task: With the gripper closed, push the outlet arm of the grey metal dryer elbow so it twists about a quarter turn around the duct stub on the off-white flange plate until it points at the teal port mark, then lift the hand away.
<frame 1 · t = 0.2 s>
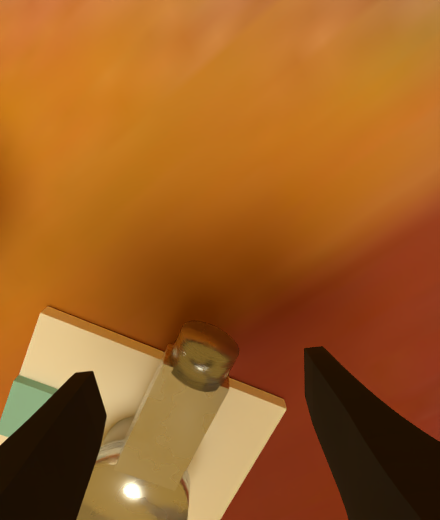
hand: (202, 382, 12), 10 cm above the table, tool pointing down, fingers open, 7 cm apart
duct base: (147, 438, 25), on the table
elbow: (157, 446, 20), point 5 cm above the table, hinge at 0.0°
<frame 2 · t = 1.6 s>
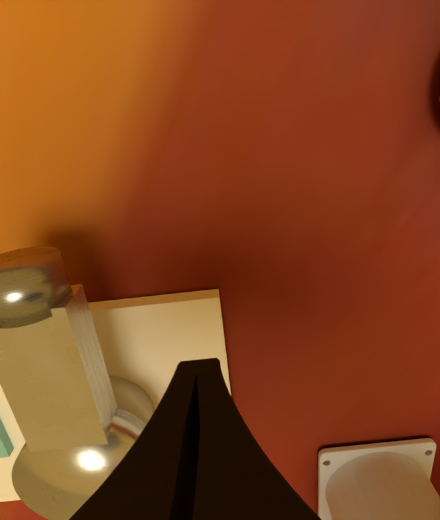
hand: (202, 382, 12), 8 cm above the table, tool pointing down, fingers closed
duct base: (112, 399, 22), on the table
elbow: (68, 407, 16), point 5 cm above the table, hinge at 0.0°
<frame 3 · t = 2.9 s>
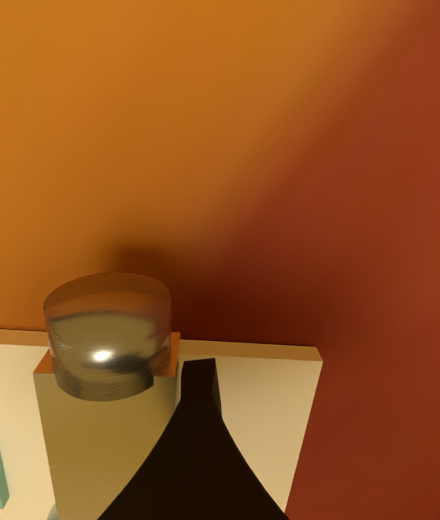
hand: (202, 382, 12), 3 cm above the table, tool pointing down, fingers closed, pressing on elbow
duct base: (145, 451, 18), on the table
elbow: (122, 487, 12), point 5 cm above the table, hinge at 1.7°, touching gripper
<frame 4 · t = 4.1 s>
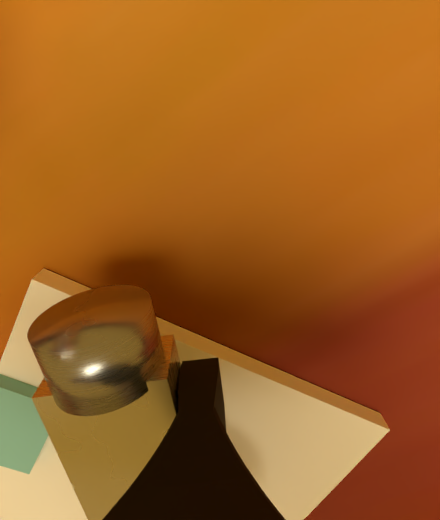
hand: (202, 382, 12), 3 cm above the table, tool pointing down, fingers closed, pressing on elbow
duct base: (181, 456, 18), on the table
elbow: (152, 494, 12), point 5 cm above the table, hinge at 37.0°, touching gripper
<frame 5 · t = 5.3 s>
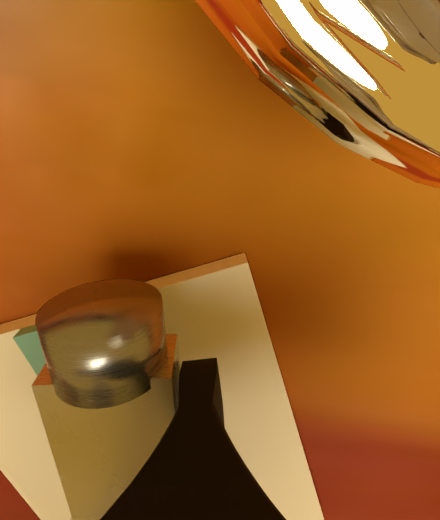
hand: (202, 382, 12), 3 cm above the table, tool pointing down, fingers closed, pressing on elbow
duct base: (162, 454, 18), on the table
elbow: (136, 491, 12), point 5 cm above the table, hinge at 75.0°, touching gripper
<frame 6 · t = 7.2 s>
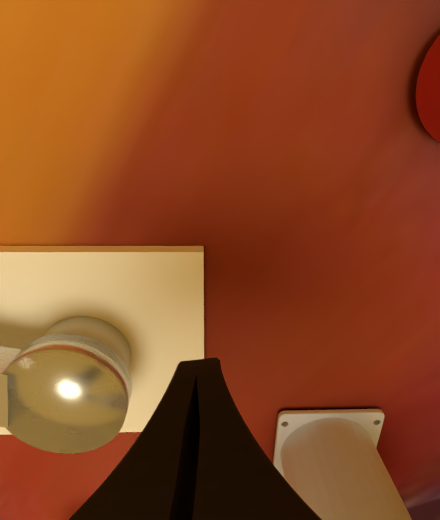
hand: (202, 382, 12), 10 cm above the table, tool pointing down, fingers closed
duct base: (91, 343, 24), on the table
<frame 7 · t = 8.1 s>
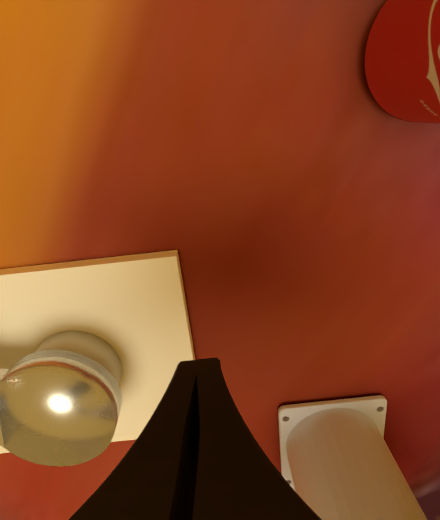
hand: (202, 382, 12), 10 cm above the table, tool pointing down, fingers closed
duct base: (83, 356, 24), on the table
beverage can: (416, 54, 18), on the table
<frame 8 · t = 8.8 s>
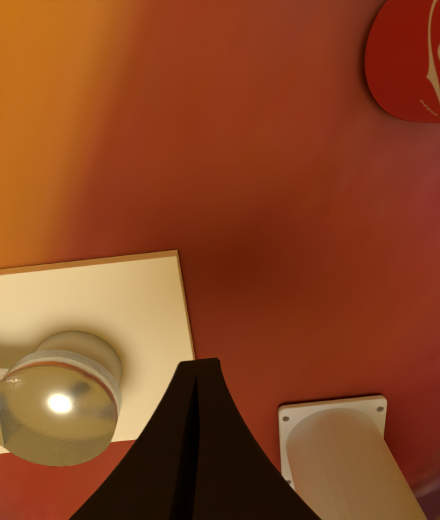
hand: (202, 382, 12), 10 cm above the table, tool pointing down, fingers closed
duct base: (83, 356, 24), on the table
beverage can: (416, 54, 18), on the table
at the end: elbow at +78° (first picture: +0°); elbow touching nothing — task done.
